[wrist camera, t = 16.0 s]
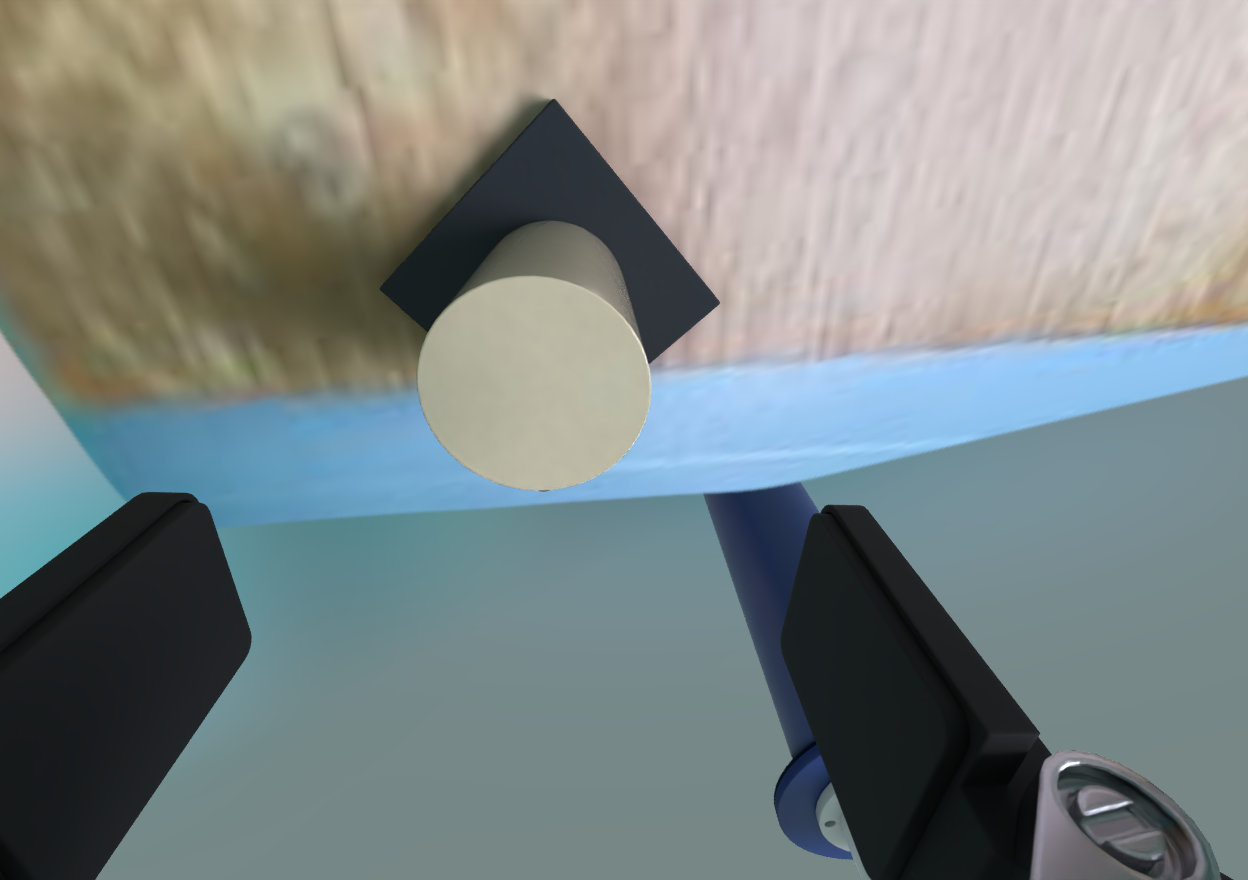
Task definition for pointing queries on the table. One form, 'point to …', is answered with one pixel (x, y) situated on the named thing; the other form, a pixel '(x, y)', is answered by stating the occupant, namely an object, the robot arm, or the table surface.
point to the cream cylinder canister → (538, 363)
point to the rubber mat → (555, 191)
